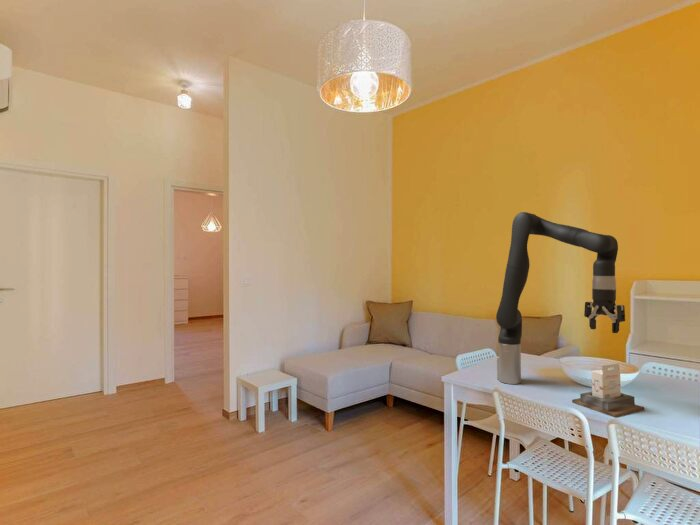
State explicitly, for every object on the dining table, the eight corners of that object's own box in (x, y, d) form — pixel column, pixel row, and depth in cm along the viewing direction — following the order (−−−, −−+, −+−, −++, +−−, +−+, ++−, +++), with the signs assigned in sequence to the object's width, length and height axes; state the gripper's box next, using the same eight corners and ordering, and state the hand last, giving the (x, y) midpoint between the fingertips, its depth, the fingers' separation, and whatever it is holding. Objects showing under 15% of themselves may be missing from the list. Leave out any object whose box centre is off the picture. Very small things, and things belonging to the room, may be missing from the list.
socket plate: (572, 402, 150) (572, 391, 150) (600, 396, 156) (600, 386, 156) (614, 417, 135) (614, 405, 135) (644, 410, 141) (644, 398, 141)
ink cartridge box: (608, 399, 149) (608, 360, 150) (621, 403, 145) (620, 363, 145) (591, 402, 147) (590, 362, 147) (603, 406, 142) (602, 365, 142)
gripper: (579, 287, 154) (579, 328, 154) (615, 289, 141) (615, 335, 141) (593, 286, 157) (593, 327, 157) (630, 288, 144) (630, 333, 144)
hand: (603, 331), depth 149 cm, fingers open, 8 cm apart
